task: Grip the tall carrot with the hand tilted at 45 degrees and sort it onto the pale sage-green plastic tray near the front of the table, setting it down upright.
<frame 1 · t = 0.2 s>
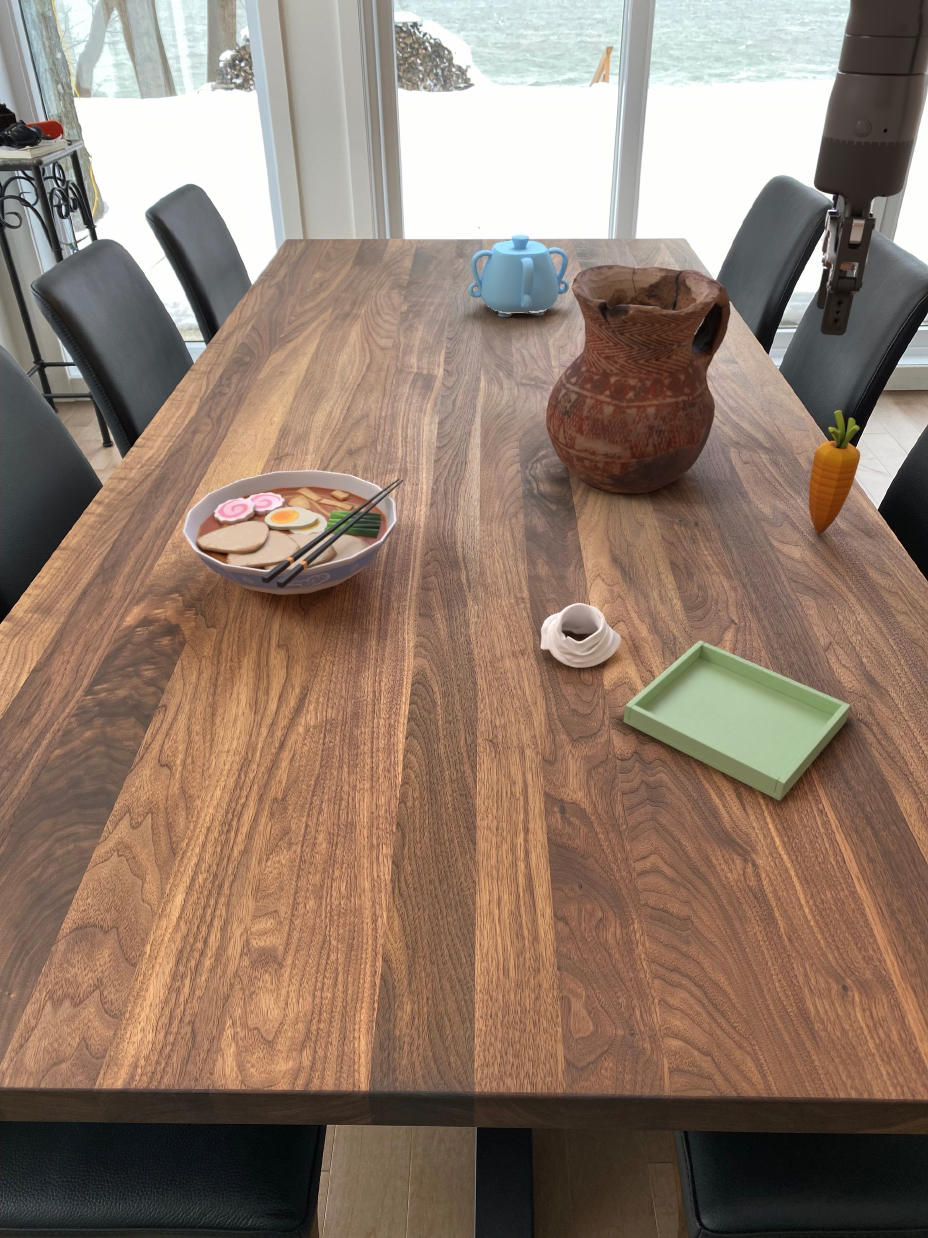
hand: (829, 320, 93), 28 cm above the table, tool pointing down, fingers open, 8 cm apart
decorative pot: (518, 309, 190), on the table
ramen bowl: (298, 575, 109), on the table
green tray: (734, 722, 88), on the table
carrot: (818, 534, 117), on the table
jug: (623, 472, 131), on the table
white cowl scarf: (579, 650, 97), on the table
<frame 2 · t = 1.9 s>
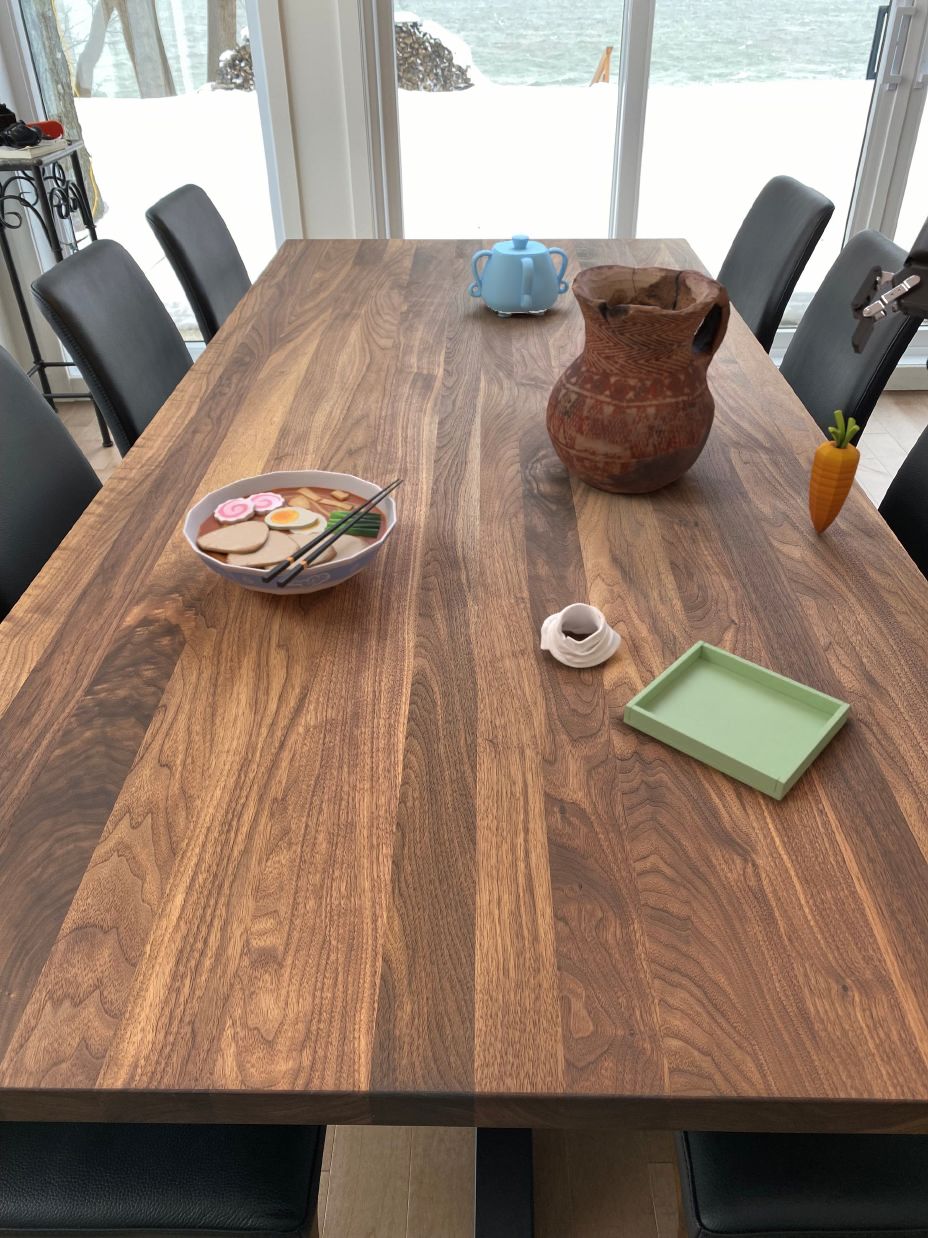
hand: (892, 358, 113), 18 cm above the table, tool tilted 45°, fingers open, 8 cm apart
nothing on the table moved.
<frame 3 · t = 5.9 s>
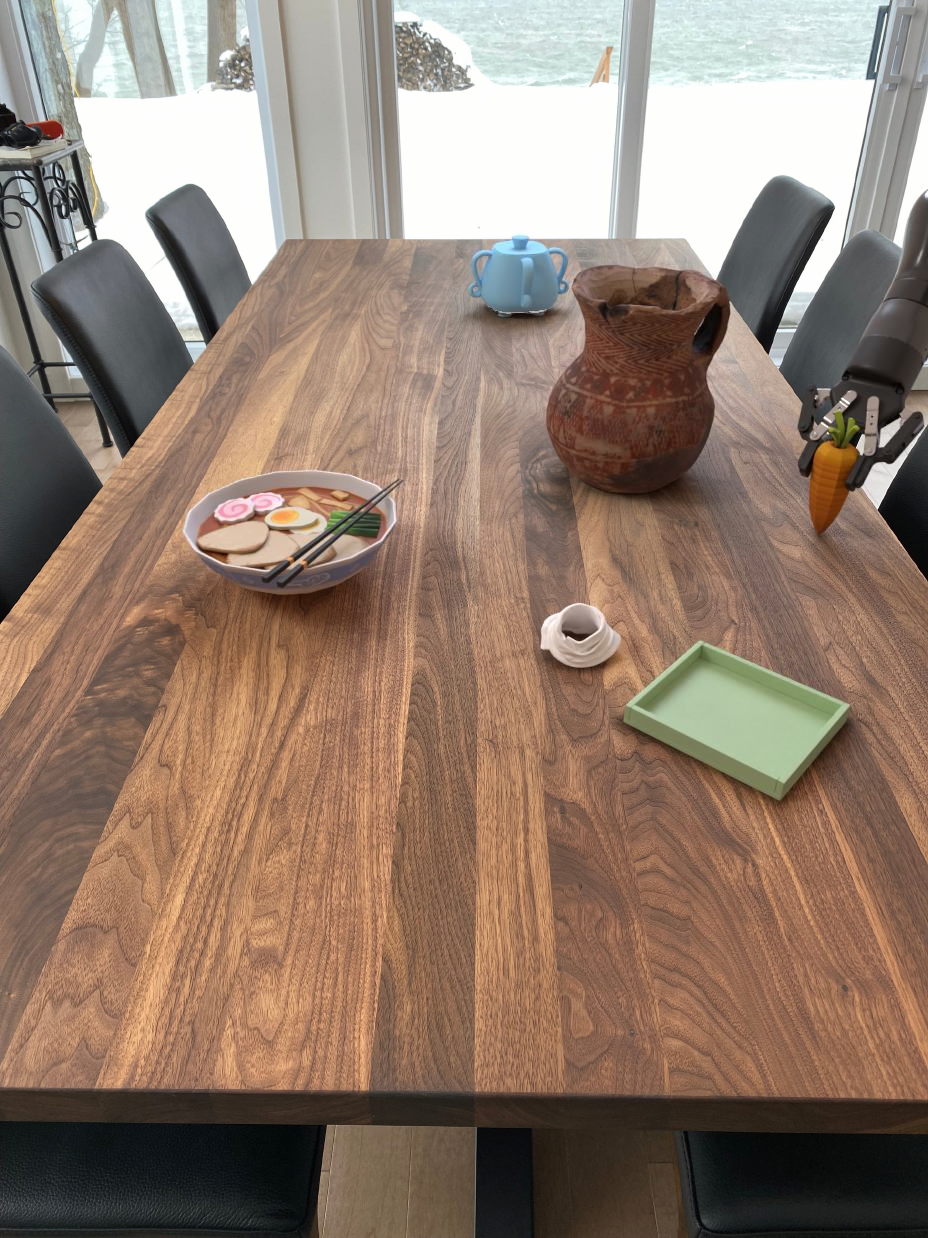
hand: (826, 480, 111), 8 cm above the table, tool tilted 45°, fingers closed on carrot, 5 cm apart
carrot: (818, 534, 117), on the table, touching gripper
everything else where it was.
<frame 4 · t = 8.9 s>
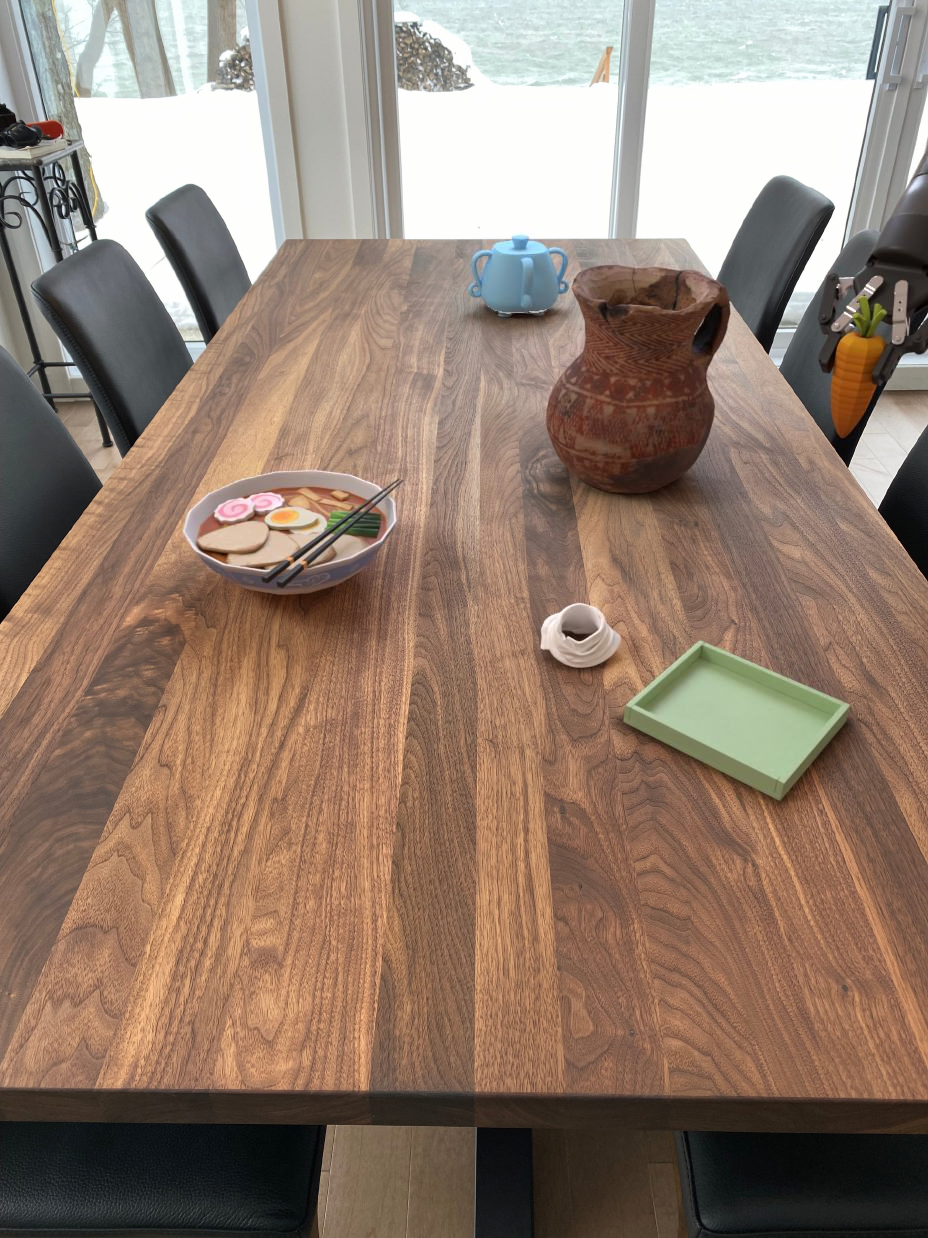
hand: (850, 374, 102), 21 cm above the table, tool tilted 45°, fingers closed on carrot, 5 cm apart
carrot: (841, 439, 107), point 13 cm above the table, touching gripper
everything else where it was.
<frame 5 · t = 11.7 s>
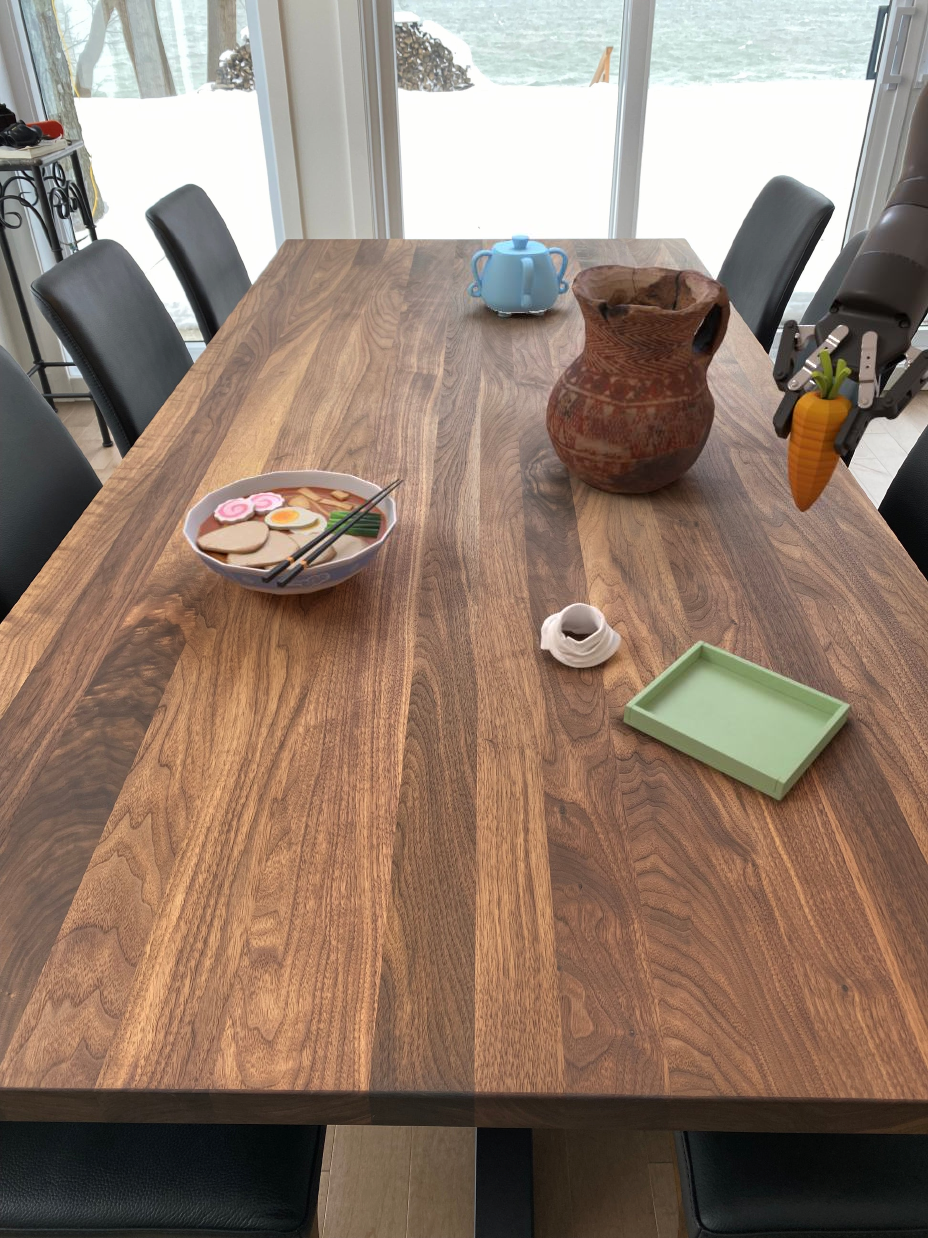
hand: (809, 442, 86), 22 cm above the table, tool tilted 45°, fingers closed on carrot, 5 cm apart
carrot: (801, 513, 91), point 14 cm above the table, touching gripper
everything else where it was.
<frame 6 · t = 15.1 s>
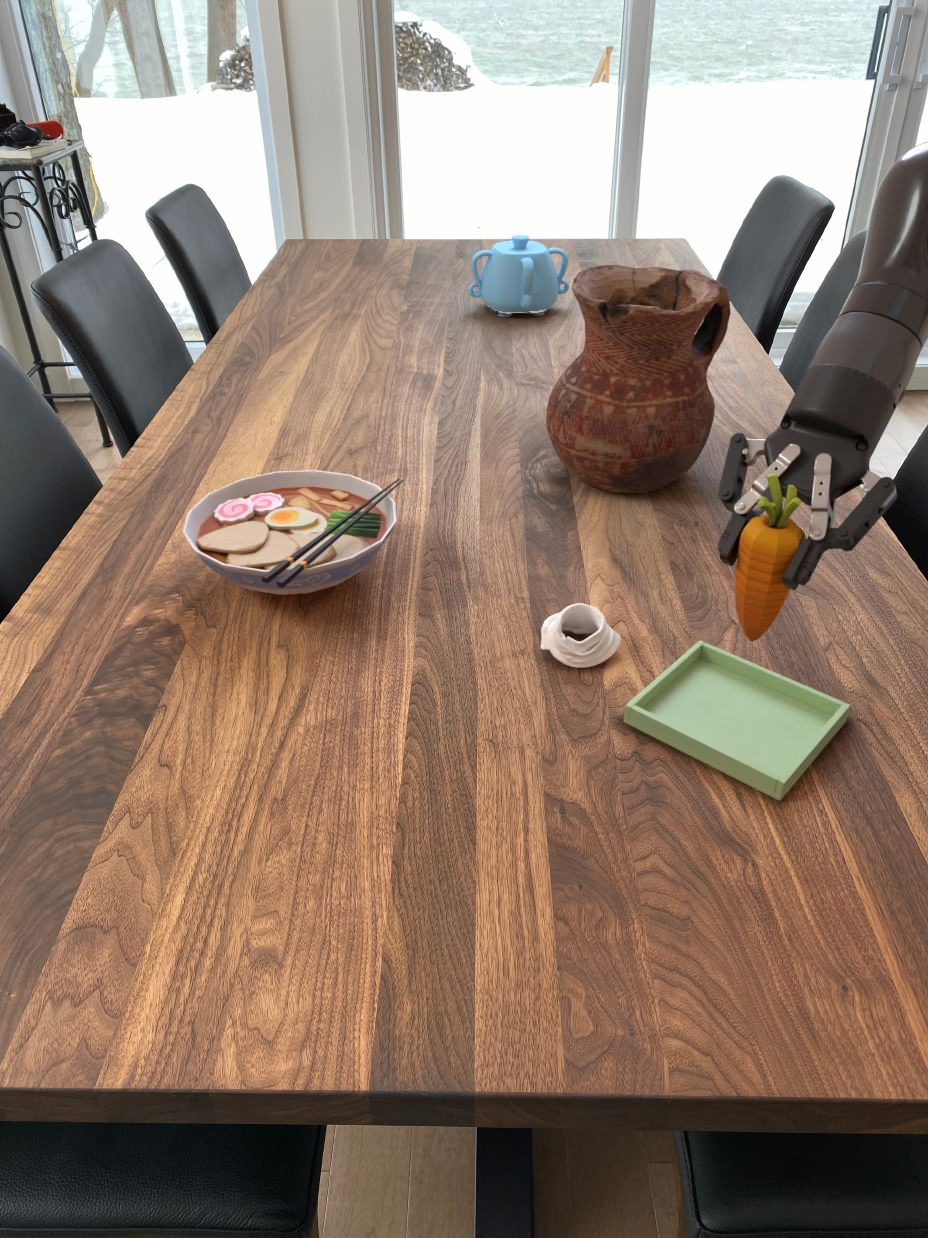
hand: (757, 573, 77), 17 cm above the table, tool tilted 45°, fingers closed on carrot, 5 cm apart
carrot: (751, 642, 83), point 9 cm above the table, touching gripper
everything else where it was.
when the fingers open (8 cm above the table, at t = 17.8 s): carrot stays where it is, resting on green tray.
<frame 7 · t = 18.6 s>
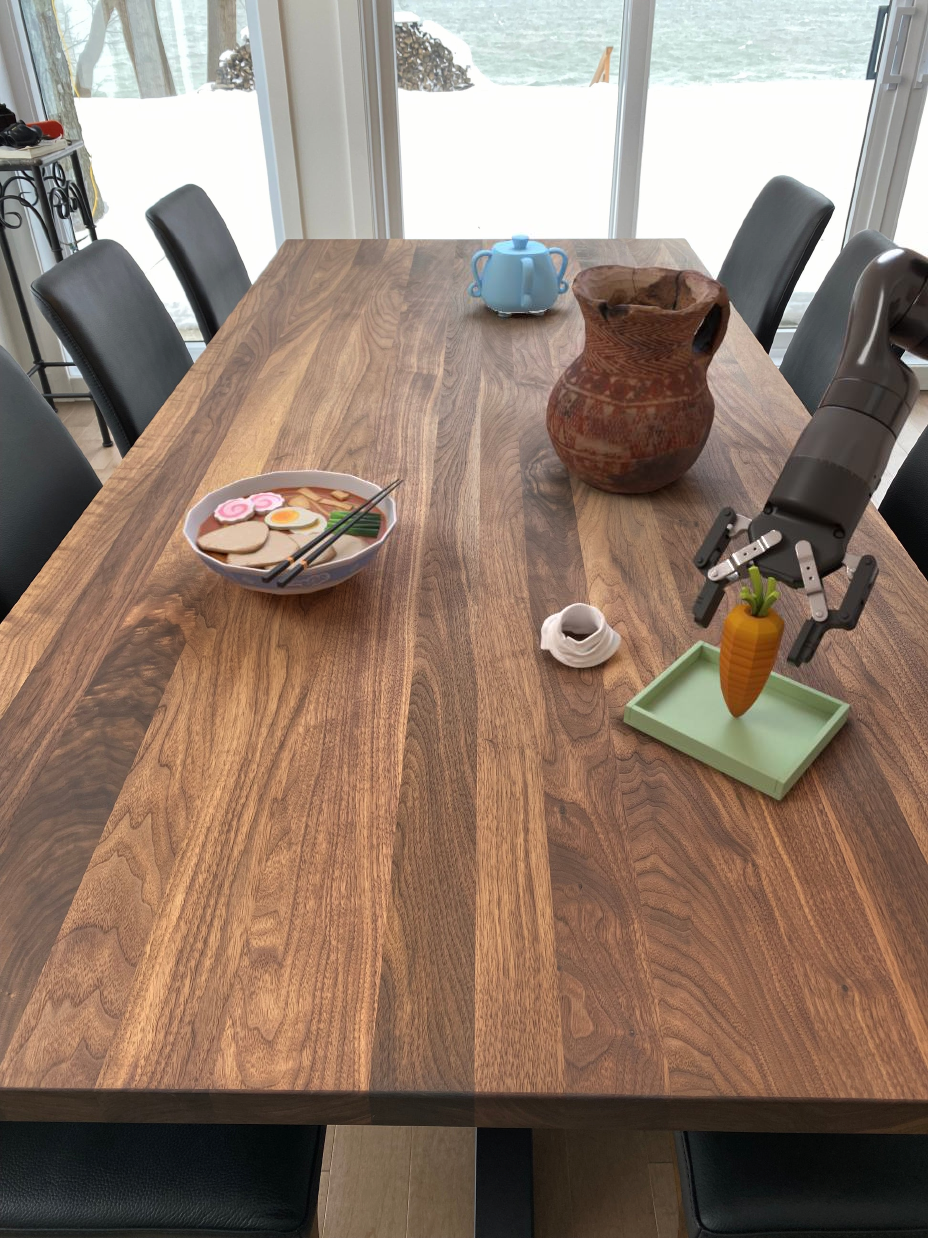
hand: (744, 644, 82), 9 cm above the table, tool tilted 45°, fingers open, 8 cm apart
carrot: (735, 718, 88), resting on green tray
everything else where it was.
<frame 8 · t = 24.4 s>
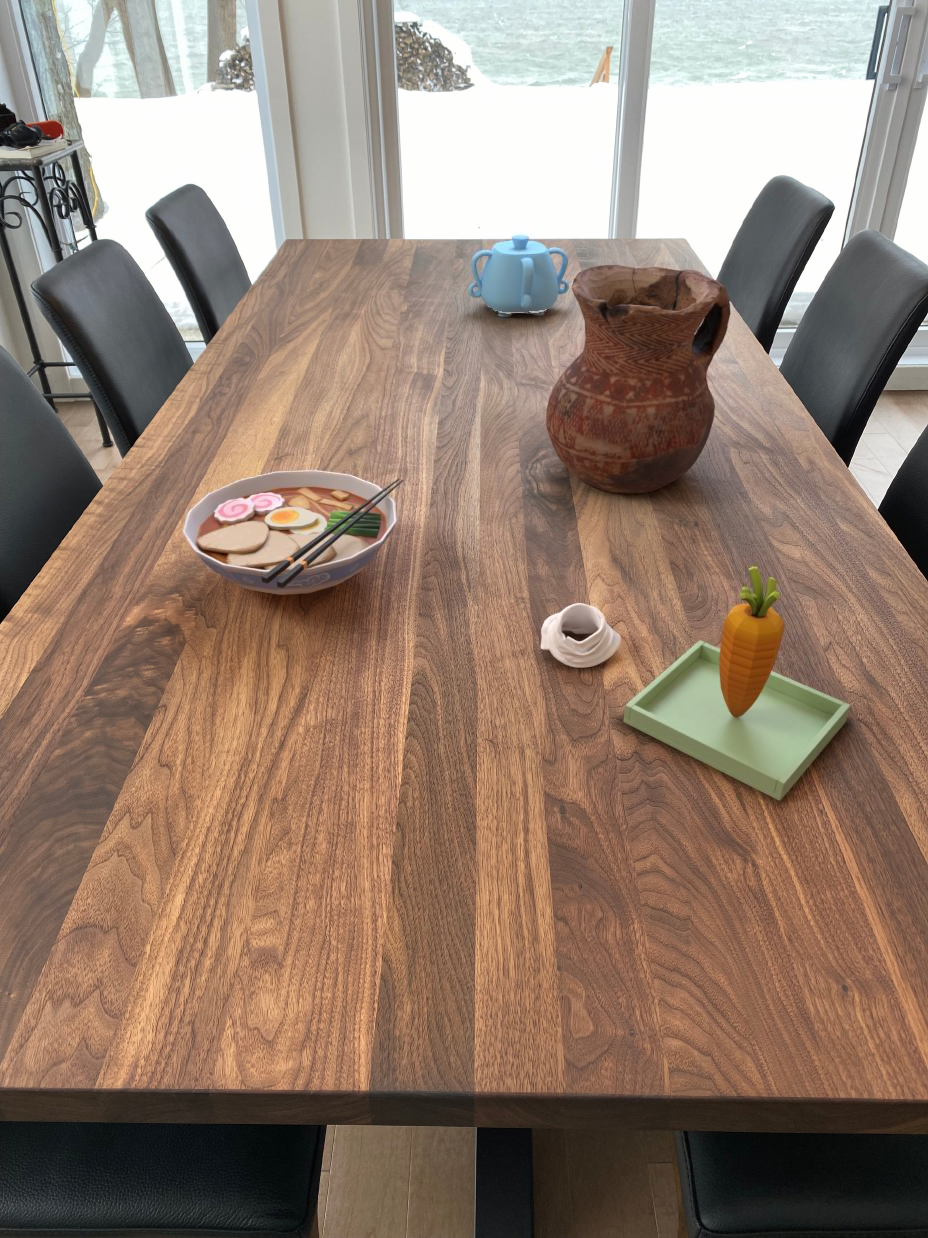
nothing on the table moved.
at the end: carrot inside the target area on the green tray (0.1 cm from its centre), point 0.3 cm above the green tray's base; carrot tilted 0° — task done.
